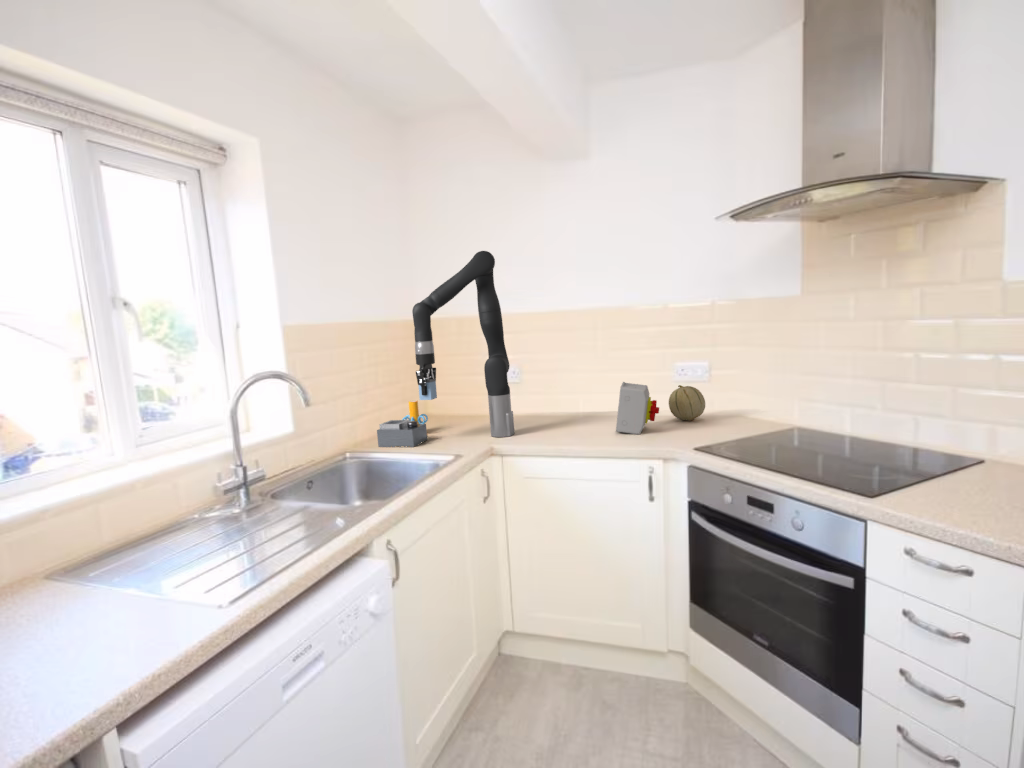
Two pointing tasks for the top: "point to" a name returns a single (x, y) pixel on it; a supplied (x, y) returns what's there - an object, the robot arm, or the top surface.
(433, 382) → the grey lidded box
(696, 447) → the top surface
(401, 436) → the grey boxy piece
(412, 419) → the cylinder
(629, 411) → the electrical switch box
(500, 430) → the robot arm
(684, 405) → the cantaloupe
